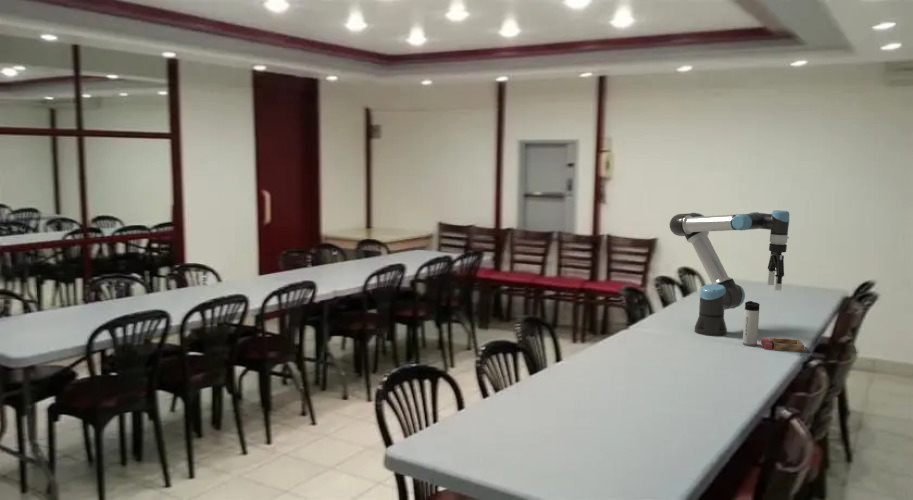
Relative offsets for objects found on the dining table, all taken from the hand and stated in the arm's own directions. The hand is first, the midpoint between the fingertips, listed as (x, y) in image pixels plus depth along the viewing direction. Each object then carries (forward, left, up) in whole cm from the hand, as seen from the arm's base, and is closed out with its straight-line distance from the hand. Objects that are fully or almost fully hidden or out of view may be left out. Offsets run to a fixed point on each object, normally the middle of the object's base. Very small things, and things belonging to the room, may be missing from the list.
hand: (774, 287), depth 339 cm
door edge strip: (-5, -16, -25) cm, 30 cm away
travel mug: (-12, -15, -25) cm, 31 cm away
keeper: (+4, -16, -25) cm, 30 cm away
